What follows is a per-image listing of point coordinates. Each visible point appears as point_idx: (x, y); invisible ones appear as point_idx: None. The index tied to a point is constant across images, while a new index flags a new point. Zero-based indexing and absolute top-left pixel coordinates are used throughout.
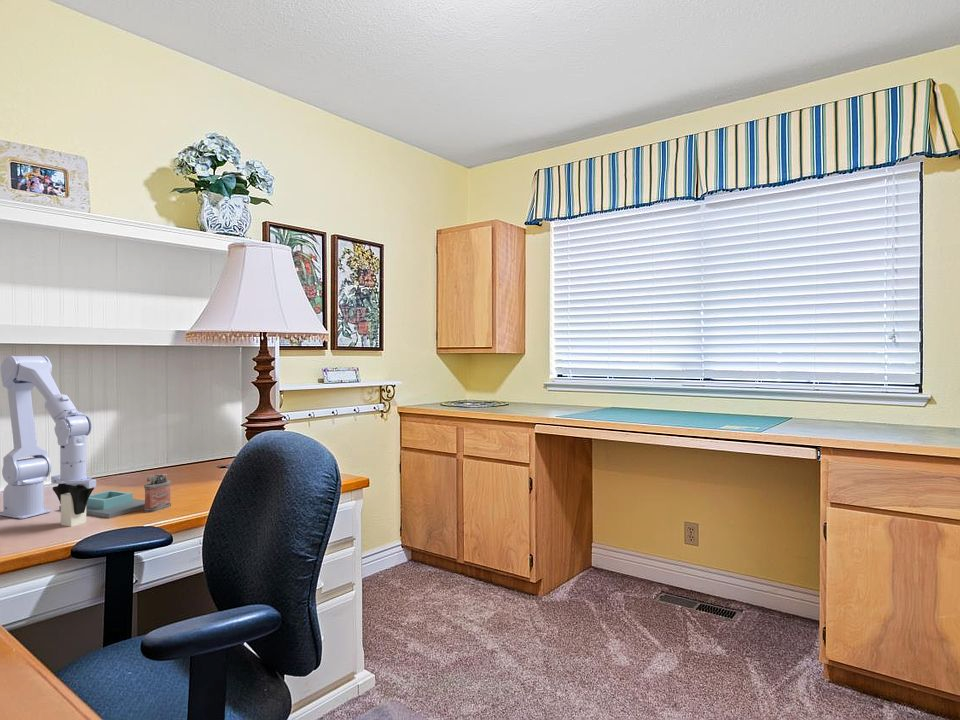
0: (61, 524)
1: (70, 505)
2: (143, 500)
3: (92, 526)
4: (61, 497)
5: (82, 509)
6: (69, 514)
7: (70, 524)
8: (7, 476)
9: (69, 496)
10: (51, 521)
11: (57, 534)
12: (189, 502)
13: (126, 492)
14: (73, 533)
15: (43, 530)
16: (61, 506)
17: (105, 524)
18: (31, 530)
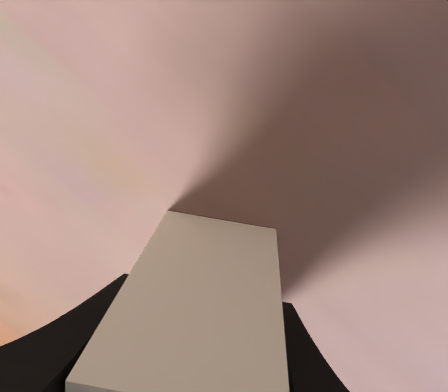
0: (269, 229)
1: (125, 299)
2: None
3: (40, 241)
4: (273, 385)
5: None
6: (165, 253)
7: (174, 218)
8: None
9: (105, 379)
10: (412, 279)
11: (86, 29)
12: None
13: None
14: (3, 82)
15: (282, 87)
16: (272, 310)
17: (7, 289)
18: (378, 63)
